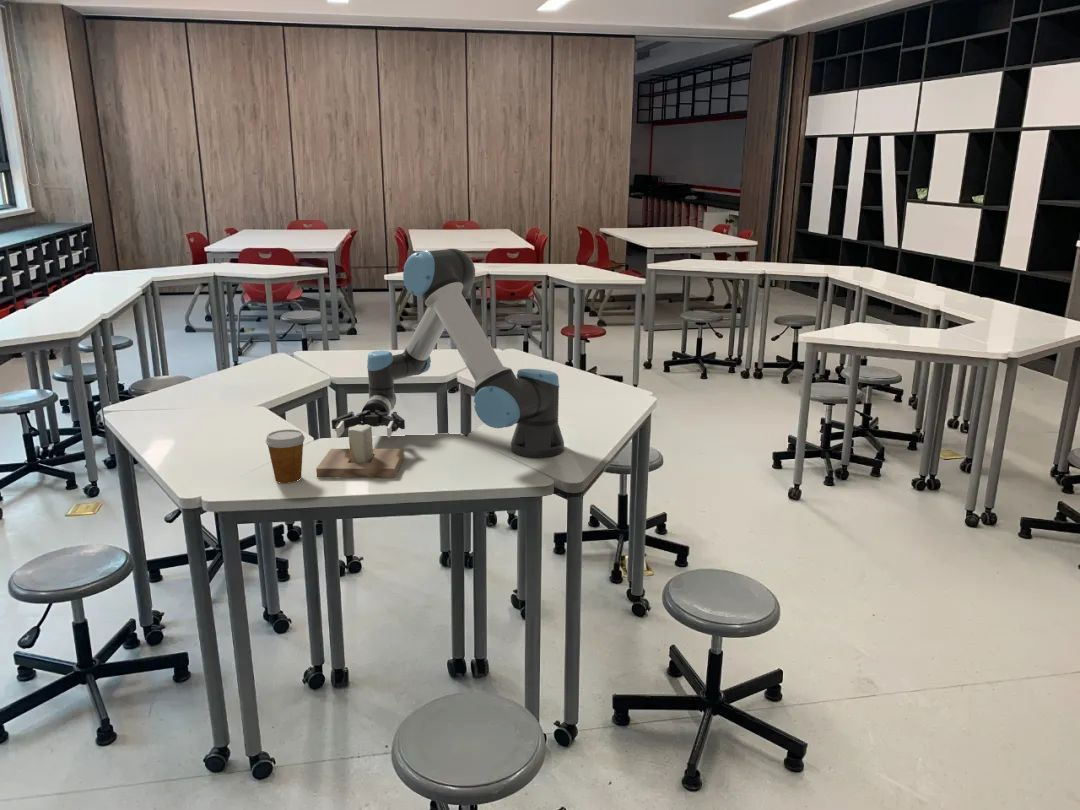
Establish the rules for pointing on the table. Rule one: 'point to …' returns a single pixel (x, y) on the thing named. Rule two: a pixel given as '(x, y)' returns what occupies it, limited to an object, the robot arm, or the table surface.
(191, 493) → the table surface
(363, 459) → the box
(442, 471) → the table surface
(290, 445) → the disposable coffee cup
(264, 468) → the table surface
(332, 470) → the socket block
